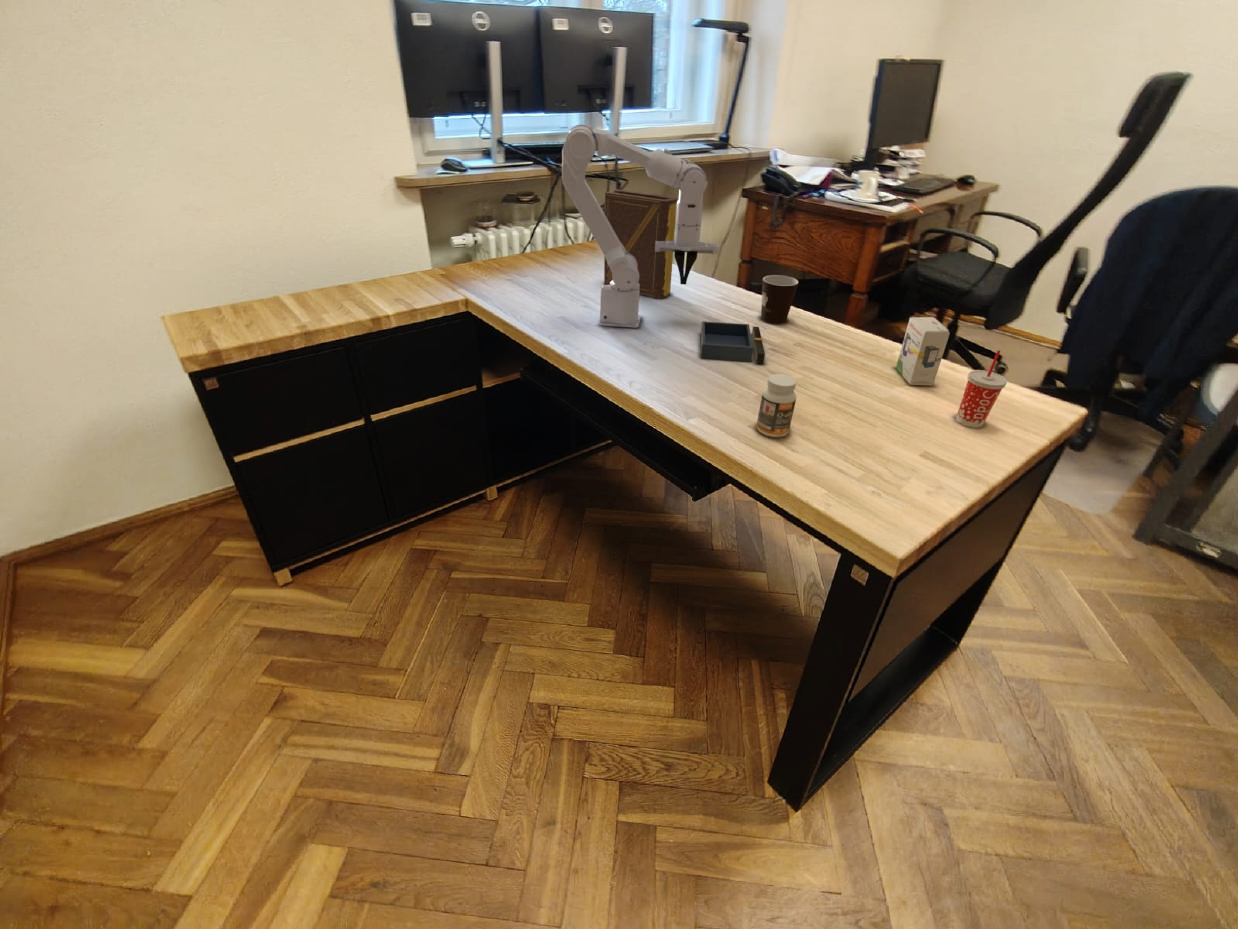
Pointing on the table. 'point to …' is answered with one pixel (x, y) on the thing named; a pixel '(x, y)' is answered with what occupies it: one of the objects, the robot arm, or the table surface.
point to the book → (643, 236)
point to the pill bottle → (777, 406)
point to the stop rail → (757, 345)
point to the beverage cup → (980, 396)
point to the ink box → (922, 350)
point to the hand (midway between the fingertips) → (683, 283)
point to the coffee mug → (777, 298)
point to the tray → (726, 341)
